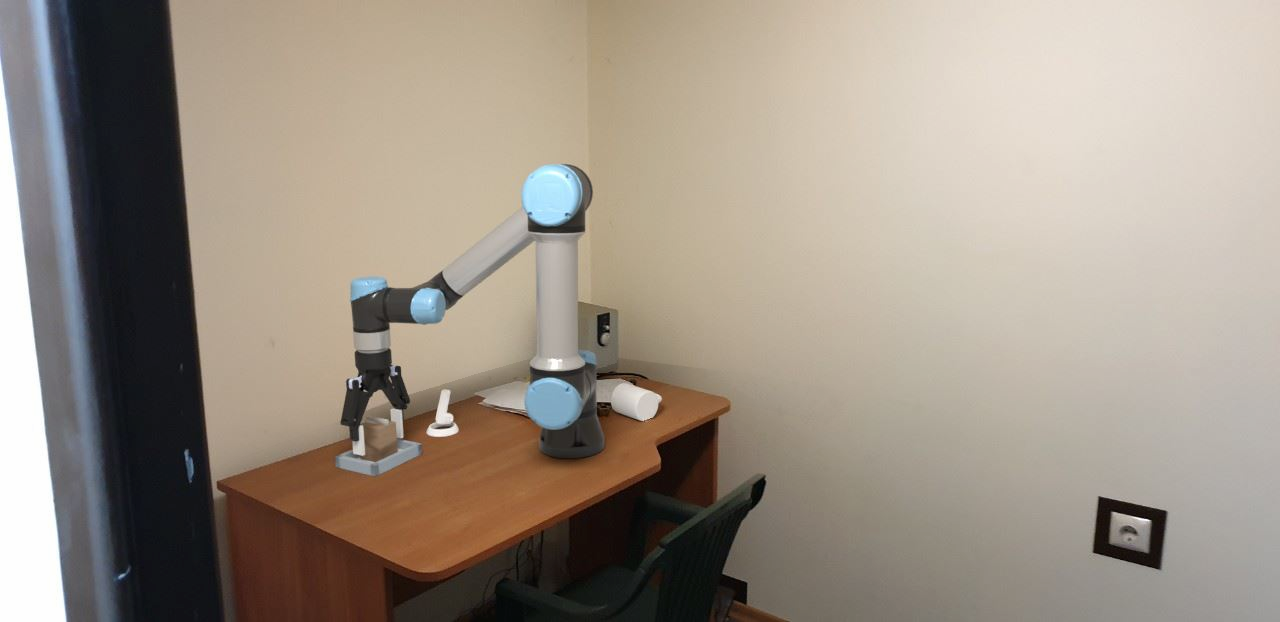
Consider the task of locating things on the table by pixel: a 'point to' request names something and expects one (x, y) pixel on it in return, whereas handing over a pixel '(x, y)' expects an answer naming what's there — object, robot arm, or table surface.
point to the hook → (443, 418)
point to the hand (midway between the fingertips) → (379, 445)
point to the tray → (356, 464)
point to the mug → (635, 401)
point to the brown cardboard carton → (379, 438)
